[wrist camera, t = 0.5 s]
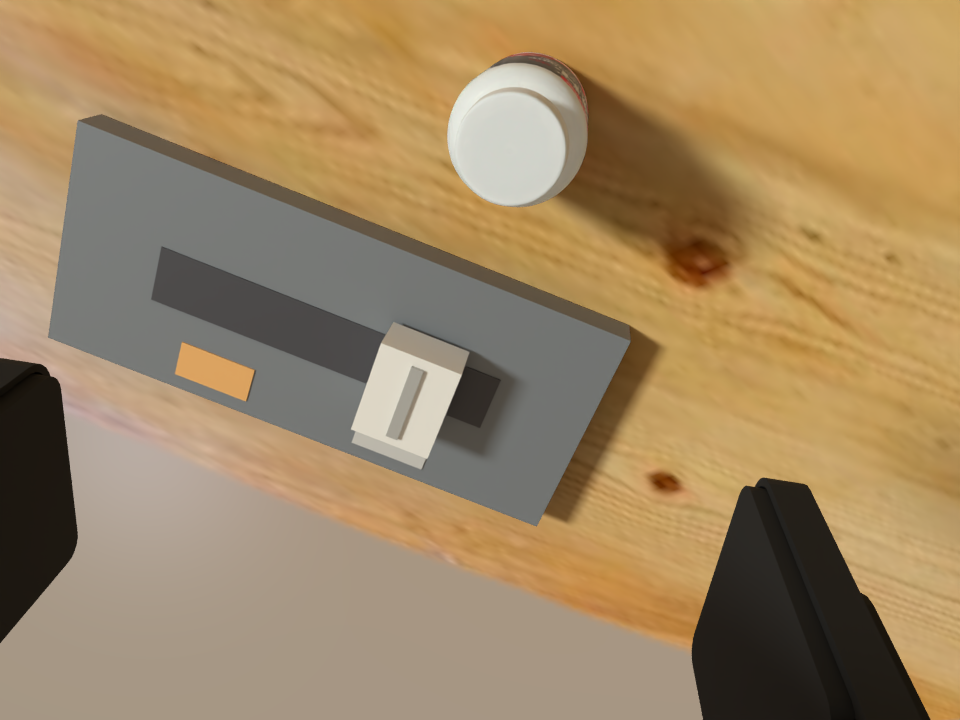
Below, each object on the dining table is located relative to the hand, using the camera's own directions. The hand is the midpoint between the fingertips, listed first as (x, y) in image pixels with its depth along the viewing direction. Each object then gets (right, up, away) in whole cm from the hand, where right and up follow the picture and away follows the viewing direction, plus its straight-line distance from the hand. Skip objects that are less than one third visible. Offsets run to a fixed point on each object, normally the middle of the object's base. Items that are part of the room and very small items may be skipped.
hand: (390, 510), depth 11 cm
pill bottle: (+4, +13, +26) cm, 30 cm away
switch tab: (-2, +1, +30) cm, 30 cm away
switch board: (-6, +4, +32) cm, 32 cm away
